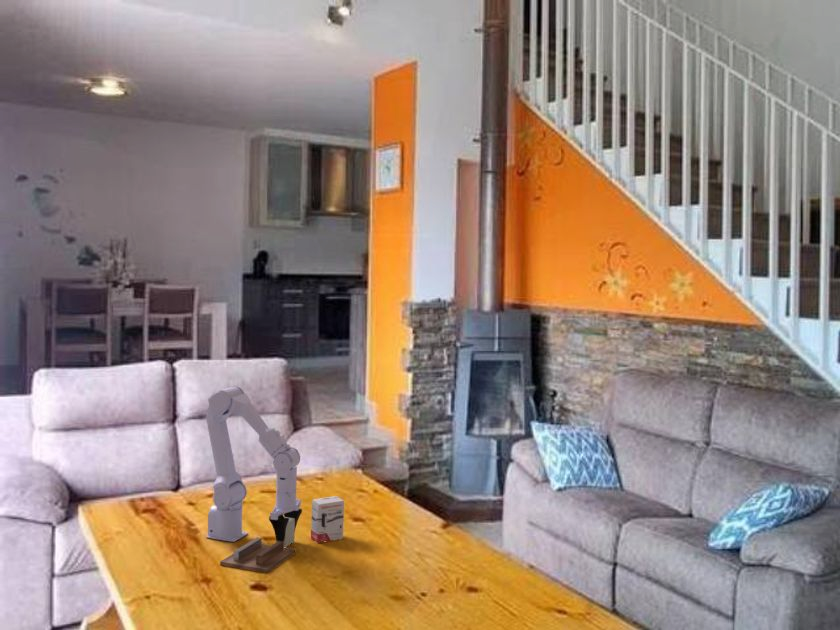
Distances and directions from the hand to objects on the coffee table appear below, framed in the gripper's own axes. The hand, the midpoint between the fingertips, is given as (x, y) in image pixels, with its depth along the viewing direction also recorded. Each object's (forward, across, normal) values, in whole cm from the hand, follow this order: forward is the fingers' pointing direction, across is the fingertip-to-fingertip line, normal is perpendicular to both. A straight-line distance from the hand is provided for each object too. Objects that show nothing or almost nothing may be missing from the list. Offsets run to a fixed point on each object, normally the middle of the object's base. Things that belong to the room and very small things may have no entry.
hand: (285, 537), depth 225 cm
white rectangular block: (+2, 0, 0) cm, 2 cm away
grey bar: (+2, -13, +4) cm, 14 cm away
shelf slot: (+2, -13, +1) cm, 13 cm away
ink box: (+2, +9, -9) cm, 13 cm away
